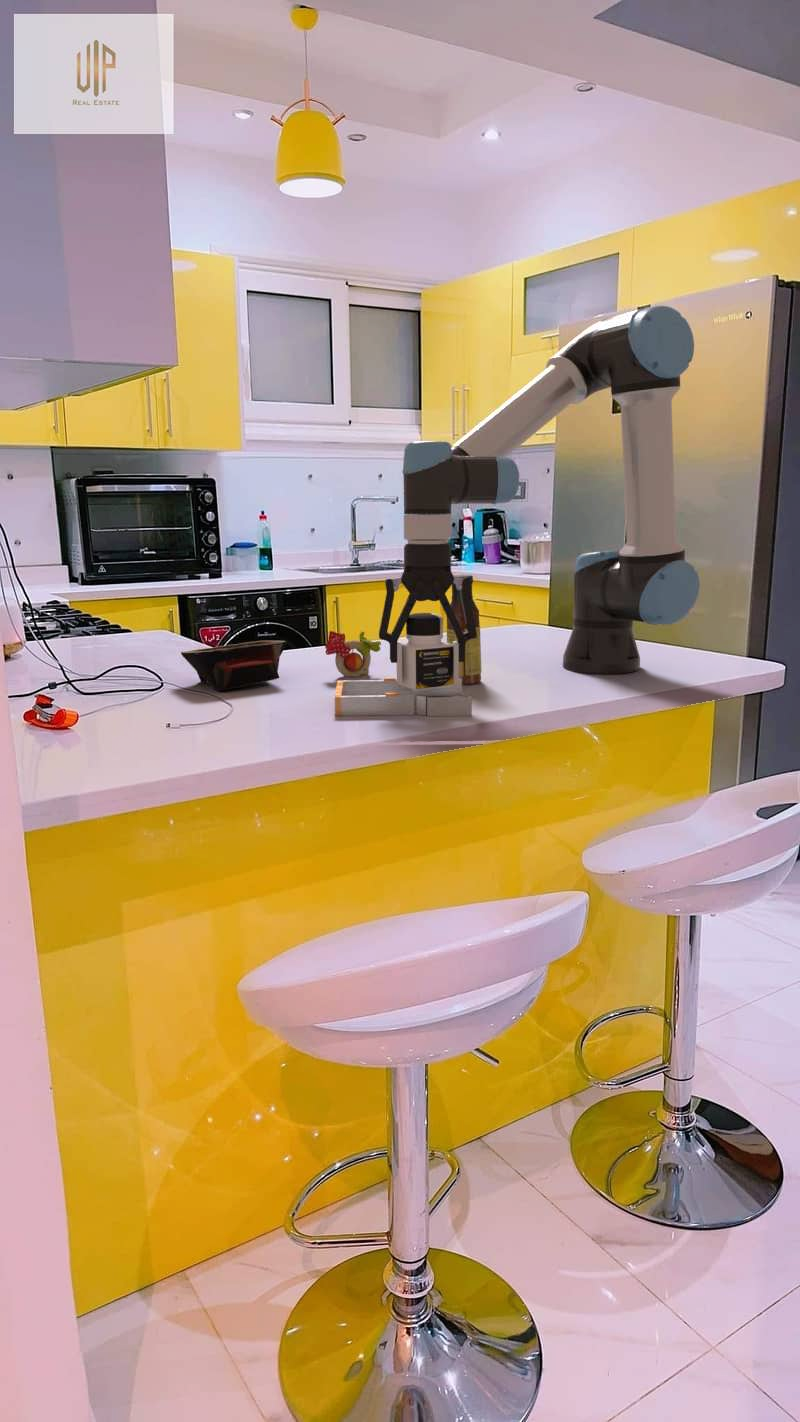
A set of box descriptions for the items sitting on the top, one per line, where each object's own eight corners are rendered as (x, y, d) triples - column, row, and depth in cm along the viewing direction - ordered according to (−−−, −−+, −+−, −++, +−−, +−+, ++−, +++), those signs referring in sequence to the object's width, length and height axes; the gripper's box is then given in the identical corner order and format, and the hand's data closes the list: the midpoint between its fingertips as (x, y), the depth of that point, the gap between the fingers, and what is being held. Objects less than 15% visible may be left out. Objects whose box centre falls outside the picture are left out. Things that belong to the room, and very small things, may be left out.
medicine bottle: (416, 691, 148) (415, 617, 146) (396, 684, 155) (395, 612, 152) (454, 687, 152) (454, 614, 149) (433, 680, 158) (432, 610, 155)
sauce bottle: (481, 679, 174) (482, 573, 169) (481, 686, 168) (482, 576, 163) (446, 679, 174) (447, 573, 170) (445, 685, 168) (445, 576, 164)
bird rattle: (385, 677, 177) (385, 630, 175) (337, 683, 171) (336, 635, 169) (367, 672, 182) (366, 627, 180) (319, 678, 176) (318, 631, 174)
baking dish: (186, 695, 173) (173, 644, 170) (272, 669, 181) (261, 620, 178) (212, 710, 161) (199, 655, 158) (302, 681, 169) (292, 629, 166)
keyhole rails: (461, 694, 161) (461, 675, 160) (471, 715, 144) (471, 694, 144) (338, 696, 160) (337, 676, 159) (334, 717, 144) (334, 696, 143)
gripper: (490, 540, 150) (488, 676, 155) (360, 541, 150) (362, 678, 155) (497, 542, 143) (494, 685, 148) (360, 543, 142) (362, 687, 147)
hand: (427, 681), depth 151 cm, fingers closed on medicine bottle, 8 cm apart
